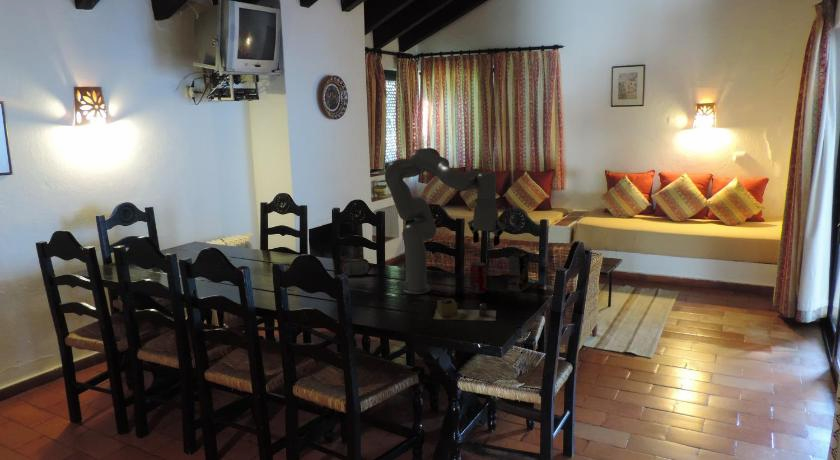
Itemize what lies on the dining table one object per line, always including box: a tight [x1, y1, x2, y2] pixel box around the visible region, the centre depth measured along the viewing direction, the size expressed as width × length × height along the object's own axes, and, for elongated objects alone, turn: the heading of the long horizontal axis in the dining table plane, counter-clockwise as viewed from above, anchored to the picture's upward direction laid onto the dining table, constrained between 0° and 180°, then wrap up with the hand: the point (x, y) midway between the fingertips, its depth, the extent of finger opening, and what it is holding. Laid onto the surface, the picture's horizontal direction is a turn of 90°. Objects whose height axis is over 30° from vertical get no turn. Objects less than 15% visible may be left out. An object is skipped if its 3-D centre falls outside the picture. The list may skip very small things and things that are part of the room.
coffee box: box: [507, 252, 530, 293], centre depth 272 cm, size 9×6×16 cm
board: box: [432, 299, 497, 322], centre depth 236 cm, size 24×12×7 cm, turn 83°
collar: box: [436, 298, 458, 318], centre depth 237 cm, size 6×6×5 cm
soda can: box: [469, 261, 487, 295], centre depth 269 cm, size 7×7×13 cm
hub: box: [478, 302, 488, 316], centre depth 235 cm, size 3×3×4 cm
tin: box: [339, 258, 371, 277], centre depth 301 cm, size 15×3×8 cm, turn 105°
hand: (486, 243), depth 249 cm, fingers open, 9 cm apart
